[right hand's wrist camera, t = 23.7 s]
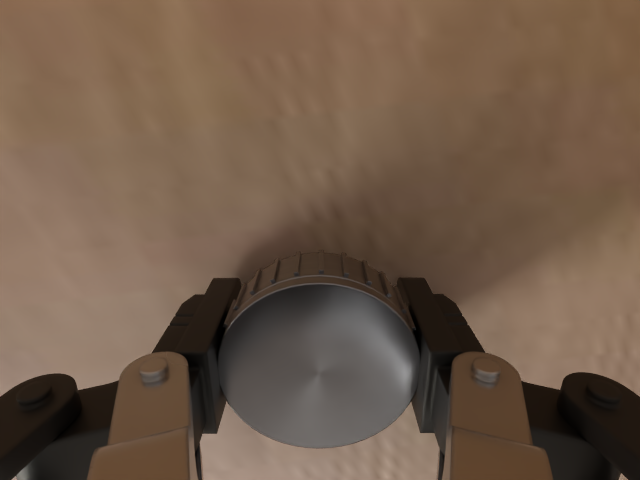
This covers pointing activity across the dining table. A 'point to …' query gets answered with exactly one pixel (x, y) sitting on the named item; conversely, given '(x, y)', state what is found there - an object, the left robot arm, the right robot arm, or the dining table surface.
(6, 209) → the dining table surface
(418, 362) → the lid
